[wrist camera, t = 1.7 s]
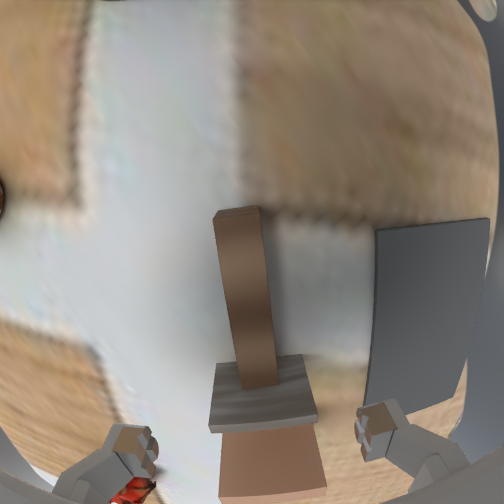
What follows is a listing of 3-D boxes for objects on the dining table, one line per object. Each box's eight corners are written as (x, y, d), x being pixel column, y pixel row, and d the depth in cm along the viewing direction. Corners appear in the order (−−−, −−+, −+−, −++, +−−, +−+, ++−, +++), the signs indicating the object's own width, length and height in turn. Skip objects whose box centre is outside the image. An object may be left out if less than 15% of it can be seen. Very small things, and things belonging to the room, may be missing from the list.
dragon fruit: (92, 450, 34) (157, 448, 35) (108, 494, 31) (174, 493, 32) (65, 463, 26) (138, 464, 27) (86, 512, 23) (159, 516, 24)
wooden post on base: (186, 215, 23) (157, 239, 15) (289, 201, 23) (312, 219, 15) (218, 371, 27) (211, 433, 19) (301, 361, 27) (317, 422, 19)
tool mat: (374, 230, 23) (377, 231, 23) (486, 217, 23) (490, 218, 22) (359, 424, 30) (360, 428, 29) (451, 394, 30) (452, 397, 29)
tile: (224, 412, 28) (218, 497, 18) (307, 403, 28) (327, 486, 18) (227, 424, 29) (223, 506, 18) (307, 416, 29) (325, 496, 18)
